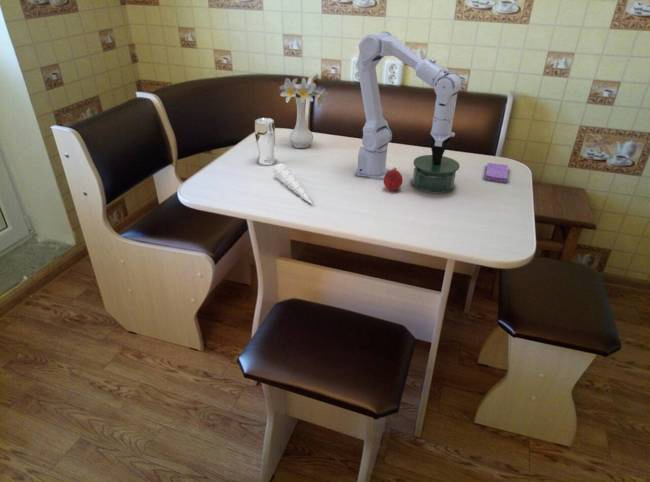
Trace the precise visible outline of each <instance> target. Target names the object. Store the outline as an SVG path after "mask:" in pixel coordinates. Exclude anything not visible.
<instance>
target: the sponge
mask: <svg viewBox="0 0 650 482" xmlns="http://www.w3.org/2000/svg"><path fill="white" fill-rule="evenodd" d="M508 177H509V164H502V163H500V164H499V163H492V162H487V165H486V171H485V175H484V180H487V181H490V182H491V181H492V182H498V183H507V182H508Z"/></svg>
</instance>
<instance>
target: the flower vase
mask: <svg viewBox="0 0 650 482" xmlns="http://www.w3.org/2000/svg"><path fill="white" fill-rule="evenodd" d="M297 82H298V78H297V77H296V78H294V79H293V80H292V81H291V80H290V78H288V77H286V78H285V79H284V83H283V85H281V86H279V90H280V91H281V90H282V92H281V93H280V97H283V98H284V97H285V102H286V103H289V102H290V100H291V98H294V99H295V103H296V121H295V122H296V123H295V126H294V128H293V129H292V130H291V132H290V133H289V136H288V139H289V141H290V143H291V144H292V145H293V147H294V148H297V149H306V148H309V147H310V144H311V143H312V142H313V140H314V134H313V132H312V131H311V130H310V129H309V128H308V125H307V122H306V100H307V101H309V102H314V98H313V97H316V109H317V110H319V108H320V105H321V106H323V107H324V105H325V100H324V98H326V97H327V95H328V94H329V92H328V91H326V88H323V90H321V91H318V90H317V83H316V82H313V80H312V79H310V83H308V84H307V80H306V78H305V77H302V79H301V83H298V84H297Z"/></svg>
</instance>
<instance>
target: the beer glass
mask: <svg viewBox="0 0 650 482" xmlns="http://www.w3.org/2000/svg"><path fill="white" fill-rule="evenodd" d="M254 136H255V142H256V146H257V149H258V150H257V151H258V160H257V161H258V164H259V165H261V166H270V165H274V164H275V163H276V156H275V145H276V144H275V143H276V126H275V120H274V119H273V118H270V117H259V118H257V119H255V120H254Z"/></svg>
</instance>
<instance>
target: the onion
mask: <svg viewBox="0 0 650 482" xmlns="http://www.w3.org/2000/svg"><path fill="white" fill-rule="evenodd" d="M383 184H384V187H385V188H386V189H387V190H388V191H391V192H394V191H396V190H398V189H399V188H400V187H401V186H402V184H403V176H402V174H401V173H400V171H398V170H397V167H396V166H395V167H392V169H391V170H389V171H387V173H386V175H385V177H384V178H383Z"/></svg>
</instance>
